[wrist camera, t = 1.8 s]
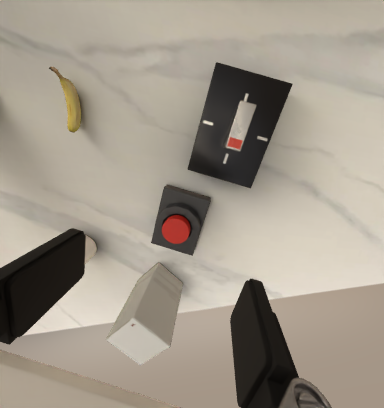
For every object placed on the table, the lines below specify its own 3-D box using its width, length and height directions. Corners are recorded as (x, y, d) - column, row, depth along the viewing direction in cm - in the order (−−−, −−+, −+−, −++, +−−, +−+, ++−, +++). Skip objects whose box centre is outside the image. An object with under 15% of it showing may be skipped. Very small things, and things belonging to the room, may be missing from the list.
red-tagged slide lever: (235, 109, 24) (240, 99, 19) (248, 113, 24) (257, 104, 19) (222, 147, 25) (225, 147, 20) (235, 150, 25) (240, 151, 20)
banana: (67, 76, 28) (44, 65, 24) (78, 76, 27) (56, 65, 24) (76, 133, 30) (56, 131, 26) (86, 133, 30) (67, 131, 26)
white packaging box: (137, 279, 38) (102, 339, 26) (159, 261, 36) (132, 317, 24) (161, 300, 39) (139, 367, 28) (184, 283, 37) (171, 348, 25)
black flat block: (215, 71, 25) (216, 61, 22) (283, 90, 25) (293, 83, 22) (189, 167, 30) (187, 169, 27) (247, 184, 29) (251, 188, 26)
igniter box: (167, 184, 31) (160, 189, 27) (210, 197, 31) (210, 204, 27) (154, 237, 35) (147, 248, 31) (193, 249, 34) (191, 261, 31)
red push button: (167, 211, 29) (165, 215, 27) (193, 219, 29) (192, 223, 27) (162, 234, 30) (159, 239, 28) (186, 241, 30) (185, 247, 28)
